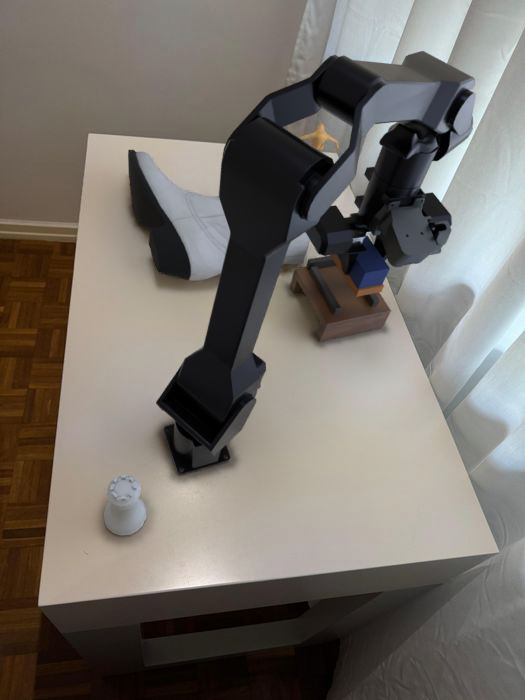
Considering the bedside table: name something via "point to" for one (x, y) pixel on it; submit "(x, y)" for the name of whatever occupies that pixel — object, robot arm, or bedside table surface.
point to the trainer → (365, 270)
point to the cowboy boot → (185, 224)
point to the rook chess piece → (124, 506)
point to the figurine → (320, 138)
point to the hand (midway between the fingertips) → (358, 270)
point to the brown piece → (337, 301)
